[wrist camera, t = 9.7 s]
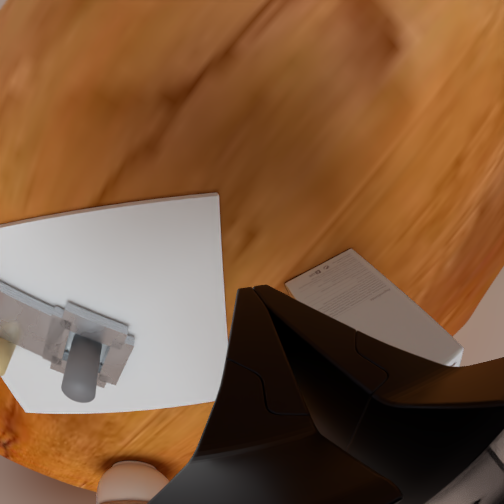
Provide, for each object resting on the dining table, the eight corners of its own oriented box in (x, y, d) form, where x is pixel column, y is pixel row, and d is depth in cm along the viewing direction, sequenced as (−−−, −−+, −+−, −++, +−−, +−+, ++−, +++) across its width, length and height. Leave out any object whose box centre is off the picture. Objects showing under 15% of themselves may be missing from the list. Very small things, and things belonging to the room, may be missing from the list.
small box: (281, 282, 24) (372, 414, 13) (351, 245, 24) (467, 345, 13) (307, 346, 28) (377, 458, 17) (365, 314, 28) (449, 409, 17)
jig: (230, 391, 28) (245, 440, 23) (27, 406, 23) (17, 450, 18) (216, 192, 20) (237, 222, 15) (-56, 237, 14) (-95, 273, 9)
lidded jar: (187, 462, 32) (201, 524, 24) (155, 488, 35) (164, 540, 26) (107, 444, 28) (109, 514, 19) (87, 473, 30) (88, 530, 22)
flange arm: (138, 329, 21) (137, 387, 16) (113, 382, 23) (111, 436, 18) (-29, 253, 15) (-67, 294, 10) (-33, 317, 16) (-60, 362, 12)
